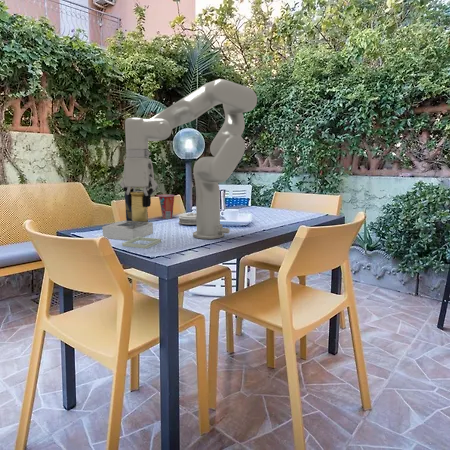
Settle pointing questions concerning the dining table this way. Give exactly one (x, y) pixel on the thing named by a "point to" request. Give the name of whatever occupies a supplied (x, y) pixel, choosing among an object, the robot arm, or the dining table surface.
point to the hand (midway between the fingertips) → (139, 205)
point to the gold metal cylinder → (138, 206)
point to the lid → (188, 218)
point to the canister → (129, 208)
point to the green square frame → (129, 244)
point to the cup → (166, 205)
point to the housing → (127, 230)
